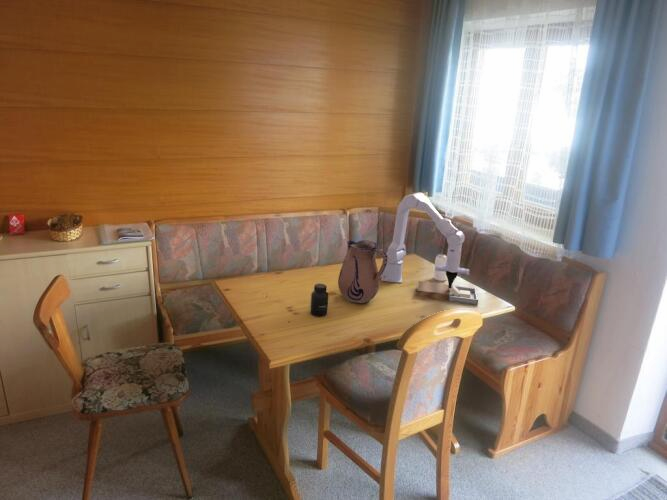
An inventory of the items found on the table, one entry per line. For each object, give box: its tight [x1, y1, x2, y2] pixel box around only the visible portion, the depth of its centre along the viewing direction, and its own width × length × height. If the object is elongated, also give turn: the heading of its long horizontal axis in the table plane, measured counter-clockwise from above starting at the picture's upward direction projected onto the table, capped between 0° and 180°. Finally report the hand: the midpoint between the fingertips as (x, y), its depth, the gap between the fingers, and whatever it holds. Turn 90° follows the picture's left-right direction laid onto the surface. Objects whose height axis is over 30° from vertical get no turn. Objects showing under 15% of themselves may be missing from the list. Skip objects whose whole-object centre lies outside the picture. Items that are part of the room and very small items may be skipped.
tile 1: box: [449, 283, 460, 297], centre depth 216 cm, size 4×4×2 cm
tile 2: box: [459, 290, 470, 298], centre depth 216 cm, size 4×4×2 cm
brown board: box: [416, 280, 450, 302], centre depth 218 cm, size 14×12×3 cm
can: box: [433, 253, 448, 282], centre depth 236 cm, size 6×6×12 cm
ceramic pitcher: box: [337, 239, 388, 304], centre depth 204 cm, size 18×21×25 cm
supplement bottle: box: [309, 283, 329, 318], centre depth 191 cm, size 7×7×12 cm
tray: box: [448, 285, 479, 306], centre depth 216 cm, size 12×14×2 cm
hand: (449, 287), depth 216 cm, fingers closed
